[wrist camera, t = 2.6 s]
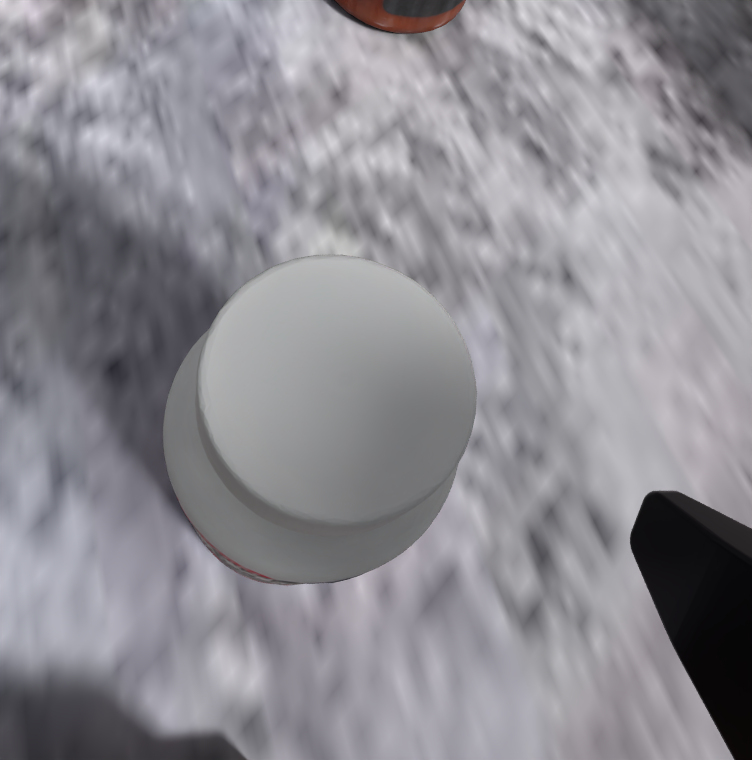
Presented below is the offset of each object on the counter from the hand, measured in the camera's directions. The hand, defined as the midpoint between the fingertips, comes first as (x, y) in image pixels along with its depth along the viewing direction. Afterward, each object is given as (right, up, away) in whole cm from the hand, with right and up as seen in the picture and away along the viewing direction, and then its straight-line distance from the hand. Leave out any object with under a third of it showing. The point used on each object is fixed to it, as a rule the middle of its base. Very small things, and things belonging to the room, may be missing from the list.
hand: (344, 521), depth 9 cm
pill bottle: (-2, -1, +9) cm, 10 cm away
